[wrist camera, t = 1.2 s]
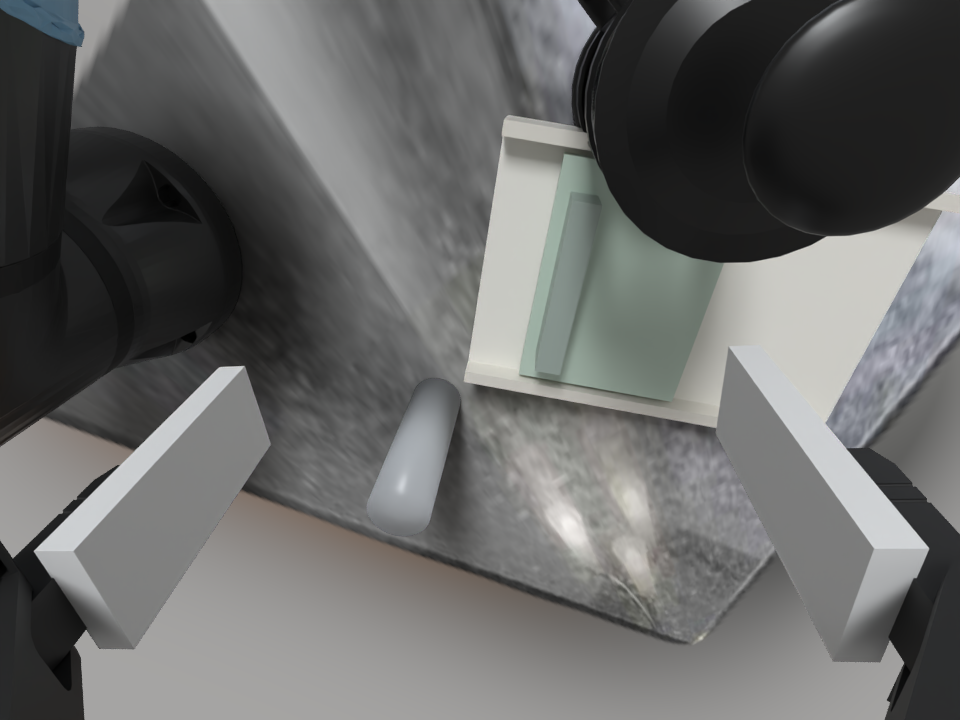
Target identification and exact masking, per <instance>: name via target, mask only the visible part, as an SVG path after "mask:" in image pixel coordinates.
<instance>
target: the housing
mask: <svg viewBox="0 0 960 720" xmlns="http://www.w3.org/2000/svg"><path fill="white" fill-rule="evenodd" d="M586 130H587V129H586ZM502 136H503V140H502V146H501V153H500V159H499V166H498V172H497V179H496V185H495V191H494V198H493V204H492V211H491V217H490V224H489V230H488V237H487V243H486V250H485V256H484V263H483V269H482V276H481V282H480V289H479V295H478V301H477V308H476V314H475V321H474V327H473V334H472V340H471V347H470V353H469V360H468V364H467V367H466V371H465V377H464V382H467V383H473V384H478V385H484V386H489V387H495V388H500V389H506V390H511V391H517V392H522V393H528V394H533V395H539V396H544V397H549V398H555V399H560V400H566V401H571V402H577V403H582V404H588V405H593V406H599V407H604V408H610V409H615V410H621V411H626V412H632V413H637V414H643V415H648V416H654V417H659V418H664V419H670V420H675V421H681V422H686V423H692V424H697V425H703V426H708V427H714V428H716V427H717V421H718V414H719V407H720V400H721V394H722V387H723V380H724V374H725V367H726V360H727V354H728V347H729V346H747V345H760V346H761V347H762V348H763V349H764V351H765V352H766V353H767V354H768V355H769V357H770V358H771V359H772V360H773V361H774V363H775V364H776V365H777V366H778V367H779V369H780V370H781V371H782V372H783V373H784V375H785V376H786V377H787V378H788V379H789V381H790V382H791V383H792V384H793V385H794V387H795V388H796V389H797V390H798V391H799V393H800V394H801V395H802V396H803V397H804V399H805V400H806V401H807V402H808V403H809V405H810V406H811V407H812V408H813V409H814V411H815V412H816V413H817V414H818V415H819V417H820V418H821V419H822V420H823V421H824V423H826V421H827V419H828V417H829V416H830V414H831V412H832V410H833V408H834V407H835V405H836V403H837V401H838V399H839V397H840V396H841V394H842V392H843V390H844V388H845V387H846V385H847V383H848V381H849V379H850V378H851V376H852V374H853V372H854V370H855V368H856V367H857V365H858V363H859V361H860V359H861V358H862V356H863V354H864V352H865V350H866V349H867V347H868V345H869V343H870V341H871V339H872V338H873V336H874V334H875V332H876V330H877V329H878V327H879V325H880V323H881V321H882V319H883V318H884V316H885V314H886V312H887V310H888V309H889V307H890V305H891V303H892V301H893V300H894V298H895V296H896V294H897V292H898V290H899V289H900V287H901V285H902V283H903V281H904V280H905V278H906V276H907V274H908V272H909V270H910V269H911V267H912V265H913V263H914V261H915V260H916V258H917V256H918V254H919V252H920V251H921V249H922V247H923V245H924V243H925V241H926V240H927V238H928V236H929V234H930V232H931V231H932V229H933V227H934V225H935V223H936V221H937V220H938V218H939V216H940V214H941V212H942V211H948V212H954V213H960V195H959V194H956V193H952V192H949V191H945V192H944V193H943V194H942V195H940V196H939V197H938V198H936V199H935V200H933V201H932V202H931V203H929V204H928V205H927V206H925V207H924V208H923V209H921V210H920V211H918V212H916V213H914V214H912V215H910V216H908V217H907V218H905V219H903V220H901V221H899V222H897V223H894V224H892V225H889V226H886V227H883V228H881V229H878V230H875V231H871V232H866V233H861V234H856V235H851V236H827V237H825V238H823V239H821V240H820V241H818V242H816V243H814V244H812V245H810V246H808V247H805V248H802V249H799V250H797V251H794V252H791V253H789V254H786V255H783V256H781V257H775V258H770V259H765V260H760V261H755V262H747V263H724V265H723V267H722V270H721V273H720V275H719V278H718V281H717V283H716V286H715V289H714V291H713V294H712V297H711V299H710V302H709V305H708V307H707V310H706V313H705V315H704V318H703V320H702V323H701V326H700V328H699V331H698V334H697V336H696V339H695V342H694V344H693V347H692V350H691V352H690V355H689V358H688V360H687V363H686V366H685V368H684V371H683V374H682V376H681V379H680V382H679V384H678V387H677V390H676V392H675V395H674V398H673V400H672V402H669V401H664V400H658V399H653V398H647V397H642V396H636V395H631V394H625V393H620V392H614V391H609V390H603V389H598V388H592V387H587V386H581V385H576V384H570V383H565V382H559V381H554V380H548V379H543V378H537V377H532V376H526V375H521V374H519V366H520V362H521V357H522V352H523V347H524V342H525V337H526V333H527V328H528V323H529V318H530V313H531V309H532V304H533V299H534V294H535V289H536V284H537V280H538V275H539V270H540V265H541V260H542V256H543V251H544V246H545V241H546V236H547V231H548V227H549V222H550V217H551V212H552V207H553V203H554V198H555V193H556V188H557V183H558V178H559V174H560V169H561V164H562V159H563V154H564V152H568V153H573V154H579V155H585V156H591V157H594V156H593V154H592V151H591V149H590V147H589V145H588V143H587V142H588V135H587V133H584V132H583V130H582V128H579V127H576V126H571V125H565V124H560V123H554V122H548V121H542V120H536V119H530V118H524V117H518V116H512V115H508V116H507V117H506V118H505V119H504V123H503V129H502Z"/></svg>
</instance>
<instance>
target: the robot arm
mask: <svg viewBox="0 0 960 720" xmlns="http://www.w3.org/2000/svg"><path fill="white" fill-rule="evenodd" d="M83 39H84V31H83V30H82V28H81V26H80V24H79V23H78V0H0V447H1V446H2V445H3V444H5V443H6V442H8V441H9V440H11V439H12V438H14V437H15V436H17V435H18V434H20V433H21V432H22V431H24V430H25V429H27V428H28V427H30V426H31V425H33V424H34V423H36V422H37V421H39V420H40V419H41V418H43V417H44V416H46V415H47V414H49V413H50V412H52V411H53V410H55V409H56V408H57V407H59V406H60V405H62V404H63V403H65V402H66V401H68V400H69V399H71V398H72V397H73V396H75V395H76V394H78V393H79V392H81V391H82V390H84V389H85V388H87V387H88V386H90V385H91V384H92V383H94V382H95V381H97V380H98V379H99V378H101V377H102V376H104V375H105V374H107V373H108V372H110V371H111V370H113V369H114V368H118V367H122V366H126V365H131V364H135V363H139V362H143V361H148V360H152V359H156V358H161V357H165V356H169V355H173V354H177V353H180V352H182V351H185V350H187V349H189V348H191V347H193V346H195V345H197V344H198V343H200V342H201V341H202V340H204V339H205V338H206V337H208V336H209V335H210V334H212V333H213V332H214V331H215V330H217V329H218V328H219V327H220V326H221V325H222V324H223V323H224V322H225V321H226V320H227V318H228V317H229V316H230V314H231V313H232V311H233V309H234V307H235V305H236V302H237V300H238V296H239V293H240V288H241V281H242V263H241V255H240V249H239V245H238V241H237V238H236V235H235V232H234V229H233V227H232V224H231V222H230V220H229V218H228V216H227V214H226V212H225V210H224V208H223V207H222V205H221V203H220V202H219V200H218V199H217V197H216V196H215V194H214V193H213V192H212V190H211V189H210V188H209V187H208V185H207V184H206V183H205V182H204V181H203V179H202V178H201V177H200V176H199V175H198V174H197V173H196V172H195V171H194V170H193V169H192V168H191V167H190V166H188V165H187V164H186V163H185V162H184V161H183V160H181V159H180V158H179V157H178V156H176V155H175V154H173V153H172V152H171V151H169V150H168V149H166V148H164V147H163V146H161V145H159V144H157V143H156V142H154V141H152V140H150V139H147V138H145V137H143V136H140V135H138V134H135V133H132V132H128V131H125V130H120V129H116V128H108V127H89V128H80V129H72V130H70V128H71V114H72V100H73V87H74V73H75V59H76V49H77V46H79V47H82V46H81V45H82V42H83ZM716 435H717V437H718V439H719V441H720V443H721V445H722V447H723V449H724V451H725V453H726V454H727V456H728V458H729V460H730V462H731V464H732V466H733V468H734V470H735V472H736V474H737V476H738V478H739V480H740V482H741V484H742V486H743V488H744V489H745V491H746V493H747V495H748V497H749V499H750V501H751V503H752V505H753V507H754V509H755V511H756V513H757V515H758V517H759V519H760V521H761V522H762V524H763V526H764V528H765V530H766V532H767V534H768V536H769V538H770V540H771V542H772V544H773V546H774V548H775V550H776V552H777V554H778V556H779V557H780V559H781V561H782V563H783V565H784V567H785V569H786V571H787V573H788V575H789V577H790V579H791V581H792V582H793V585H794V586H795V588H796V590H797V592H798V594H799V596H800V598H801V600H802V602H803V604H804V606H805V608H806V610H807V612H808V614H809V616H810V618H811V620H812V621H813V623H814V625H815V627H816V629H817V631H818V633H819V635H820V637H821V639H822V641H823V643H824V645H825V647H826V649H827V651H828V653H829V655H830V657H831V658H832V660H833V661H838V662H839V661H840V662H880V661H881V659H882V657H883V654H884V652H885V650H886V648H887V645H888V643H889V641H891V642H892V644H893V645H894V647H895V649H896V650H897V652H898V653H899V655H900V656H901V658H902V660H903V661H904V665H903V667H902V669H901V672H900V673H899V675H898V677H897V680H896V682H895V684H894V686H893V688H892V691H891V693H890V695H889V697H888V699H887V701H889V702H890V705H889V708H888V711H887V714H886V717H885V720H960V534H959V533H958V532H957V531H956V530H955V529H954V528H953V527H952V525H951V524H950V523H949V522H948V521H947V520H946V519H945V518H944V517H943V516H942V515H941V513H939V511H938V510H937V509H936V508H935V507H934V506H933V505H932V504H931V503H928V502H927V498H926V497H925V496H924V495H923V494H922V493H921V492H920V491H919V490H918V489H917V487H913V486H912V482H911V481H910V480H909V479H908V478H907V477H906V476H905V474H904V473H903V472H902V471H901V470H900V469H899V468H898V467H897V466H896V465H895V464H894V463H892V462H891V461H889V460H888V459H886V458H884V457H883V456H881V455H880V454H878V453H876V452H875V451H873V450H872V449H870V448H845V447H844V445H843V444H842V443H841V442H840V441H839V439H838V438H837V437H836V436H835V435H834V433H833V432H832V431H831V430H830V429H829V427H828V426H827V425H826V424H825V423H824V421H823V420H822V419H821V418H820V417H819V415H818V414H817V413H816V412H815V411H814V409H813V408H812V407H811V406H810V405H809V403H808V402H807V401H806V400H805V399H804V397H803V396H802V395H801V394H800V393H799V391H798V390H797V389H796V388H795V387H794V385H793V384H792V383H791V382H790V381H789V379H788V378H787V377H786V376H785V375H784V373H783V372H782V371H781V370H780V369H779V367H778V366H777V365H776V364H775V363H774V361H773V360H772V359H771V358H770V357H769V355H768V354H767V353H766V352H765V351H764V349H763V348H762V347H761V346H760V345H747V346H729V347H728V354H727V360H726V367H725V374H724V380H723V387H722V394H721V400H720V407H719V414H718V421H717V427H716ZM270 445H271V443H270V440H269V437H268V434H267V431H266V428H265V425H264V422H263V419H262V416H261V413H260V410H259V407H258V404H257V401H256V398H255V395H254V392H253V389H252V386H251V383H250V380H249V377H248V374H247V371H246V368H245V366H233V367H219V368H218V369H217V370H216V371H215V372H214V373H213V374H212V375H211V376H210V377H209V378H208V379H207V380H206V381H205V382H204V383H203V384H202V385H201V386H200V387H199V388H198V389H197V390H196V391H195V392H194V393H193V394H192V395H191V396H190V397H189V398H188V399H187V400H186V401H185V402H184V403H183V404H182V405H181V406H180V407H179V408H178V409H177V410H176V411H175V412H174V413H172V414H171V415H170V416H169V417H168V418H167V419H166V420H165V421H164V422H163V423H162V424H161V425H160V426H159V427H158V428H157V429H156V430H155V431H154V432H153V433H152V434H151V435H150V436H149V437H148V438H147V439H146V440H145V441H144V442H143V443H142V444H141V445H140V446H139V447H138V448H137V449H136V450H135V451H134V452H133V453H132V454H131V455H130V456H129V457H128V458H127V459H126V460H125V461H124V462H123V463H122V464H121V465H117V466H116V467H114V468H112V469H111V470H109V471H108V472H106V473H105V474H103V475H101V476H100V477H98V478H97V479H95V480H94V481H93V482H92V483H91V484H90V485H89V486H88V487H87V488H86V489H85V490H84V491H83V492H81V494H80V495H79V496H77V500H73V501H72V502H71V503H70V504H69V505H68V506H67V507H66V508H65V509H64V510H63V514H59V515H58V516H57V517H56V518H55V519H54V520H53V521H51V522H50V523H49V525H47V526H46V527H45V528H44V530H42V531H41V532H40V533H39V534H38V535H37V536H36V537H35V538H34V539H33V540H32V541H31V542H30V543H29V544H28V545H27V546H26V547H25V548H24V549H22V550H21V552H19V553H18V554H17V555H16V556H15V557H14V558H12V557H11V555H10V554H9V553H8V551H7V550H6V548H5V547H4V546H3V544H2V543H1V541H0V720H84V708H83V707H84V706H83V689H82V672H81V657H80V655H79V653H78V651H77V649H76V648H75V646H74V644H75V643H76V642H77V641H78V639H79V638H80V637H81V635H82V634H83V633H84V632H85V630H87V631H88V633H89V634H90V636H91V637H92V639H93V640H94V642H95V643H96V645H97V646H98V648H99V649H101V648H102V649H135V647H136V646H137V644H138V643H139V641H140V639H141V638H142V637H143V635H144V634H145V632H146V631H147V629H148V628H149V626H150V625H151V623H152V622H153V620H154V619H155V617H156V616H157V614H158V613H159V611H160V610H161V608H162V607H163V605H164V604H165V602H166V601H167V599H168V598H169V596H170V595H171V593H172V592H173V590H174V589H175V587H176V586H177V584H178V583H179V581H180V580H181V578H182V577H183V575H184V574H185V572H186V571H187V569H188V568H189V566H190V565H191V563H192V562H193V560H194V559H195V557H196V556H197V554H198V553H199V551H200V549H201V548H202V547H203V545H204V544H205V542H206V541H207V539H208V538H209V536H210V535H211V533H212V532H213V530H214V529H215V527H216V526H217V524H218V523H219V521H220V520H221V518H222V517H223V515H224V514H225V512H226V511H227V509H228V508H229V506H230V505H231V503H232V502H233V500H234V499H235V497H236V496H237V495H238V493H239V492H240V490H241V489H242V487H243V486H244V484H245V483H246V481H247V480H248V478H249V477H250V475H251V474H252V472H253V471H254V469H255V468H256V466H257V465H258V463H259V462H260V460H261V459H262V457H263V456H264V454H265V453H266V451H267V450H268V448H269V447H270Z"/></svg>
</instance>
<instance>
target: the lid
mask: <svg viewBox="0 0 960 720" xmlns="http://www.w3.org/2000/svg"><path fill="white" fill-rule="evenodd" d="M723 265H724V263H717V262H711V261H705V260H700V259H694V258H690V257H688V256H685V255H682V254H680V253H677V252H675V251H672V250H669V249H667V248H665V247H664V246H662V245H660V244H659V243H657V242H656V241H654V240H653V239H651V238H650V237H648V236H647V235H645V234H644V233H643V232H642V231H641V230H640V229H639V228H638V227H637V226H636V225H635V224H634V223H633V222H632V221H631V220H630V219H629V218H628V217H627V216H626V215H625V214H624V213H623V211H622V209H621V208H620V206H619V205H618V203H617V202H616V200H615V198H614V197H613V195H612V194H611V192H610V190H609V188H608V186H607V183H606V180H605V177H604V175H603V173H602V171H601V170H600V168H599V166H598V164H597V162H596V160H595V158H594V157H591V156H585V155H579V154H573V153H568V152H564V154H563V159H562V164H561V169H560V174H559V178H558V183H557V188H556V193H555V198H554V203H553V207H552V212H551V217H550V222H549V227H548V231H547V236H546V241H545V246H544V251H543V256H542V260H541V265H540V270H539V275H538V280H537V284H536V289H535V294H534V299H533V304H532V309H531V313H530V318H529V323H528V328H527V333H526V337H525V342H524V347H523V352H522V357H521V362H520V366H519V374H521V375H526V376H532V377H537V378H543V379H548V380H554V381H559V382H565V383H570V384H576V385H581V386H587V387H592V388H598V389H603V390H609V391H614V392H620V393H625V394H631V395H636V396H642V397H647V398H653V399H658V400H664V401H669V402H672V400H673V398H674V395H675V392H676V390H677V387H678V384H679V382H680V379H681V376H682V374H683V371H684V368H685V366H686V363H687V360H688V358H689V355H690V352H691V350H692V347H693V344H694V342H695V339H696V336H697V334H698V331H699V328H700V326H701V323H702V320H703V318H704V315H705V313H706V310H707V307H708V305H709V302H710V299H711V297H712V294H713V291H714V289H715V286H716V283H717V281H718V278H719V275H720V273H721V270H722V267H723Z"/></svg>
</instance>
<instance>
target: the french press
mask: <svg viewBox="0 0 960 720" xmlns="http://www.w3.org/2000/svg"><path fill="white" fill-rule="evenodd" d="M578 2H579V3H580V4H581V6H582V7H583V8H584V10H585V11H586V13H587V14H588V15H589V17H590V18H591V20H592V21H593V22H594V24H595V25H596V26H597V27H596V28H595V30H594V31H593V32H592V34H591V36H590V37H589V39H588V41H587V42H586V44H585V46H584V48H583V49H582V52H581V55H580V57H579V60H578V63H577V65H576V69H575V74H574V79H573V84H572V109H573V115H574V121H575V124H576V127H579V128H582V130H583V132H584V133H587V135H588V142H587V143H588V145H589V147H590V149H591V151H592V154H593V156H594V158H595V160H596V162H597V164H598V166H599V168H600V170H601V171H602V173H603V175H604V177H605V180H606V183H607V186H608V188H609V190H610V192H611V194H612V195H613V197H614V198H615V200H616V202H617V203H618V205H619V206H620V208H621V209H622V211H623V213H624V214H625V215H626V216H627V217H628V218H629V219H630V220H631V221H632V222H633V223H634V224H635V225H636V226H637V227H638V228H639V229H640V230H641V231H642V232H643V233H644V234H645V235H647V236H648V237H650V238H651V239H653V240H654V241H656V242H657V243H659V244H660V245H662V246H664V247H665V248H667V249H669V250H672V251H675V252H677V253H680V254H682V255H685V256H688V257H690V258H694V259H700V260H705V261H711V262H717V263H747V262H755V261H760V260H765V259H770V258H775V257H781V256H783V255H786V254H789V253H791V252H794V251H797V250H799V249H802V248H805V247H808V246H810V245H812V244H814V243H816V242H818V241H820V240H821V239H823V238H825V237H827V236H851V235H856V234H861V233H866V232H871V231H875V230H878V229H881V228H883V227H886V226H889V225H892V224H894V223H897V222H899V221H901V220H903V219H905V218H907V217H908V216H910V215H912V214H914V213H916V212H918V211H920V210H921V209H923V208H924V207H925V206H927V205H928V204H929V203H931V202H932V201H933V200H935V199H936V198H938V197H939V196H940V195H942V194H943V193H944V192H945V191H946V190H947V189H948V188H949V187H950V186H951V185H952V184H953V183H954V182H955V181H956V180H957V179H958V178H959V177H960V0H578ZM586 129H587V130H586Z"/></svg>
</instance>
